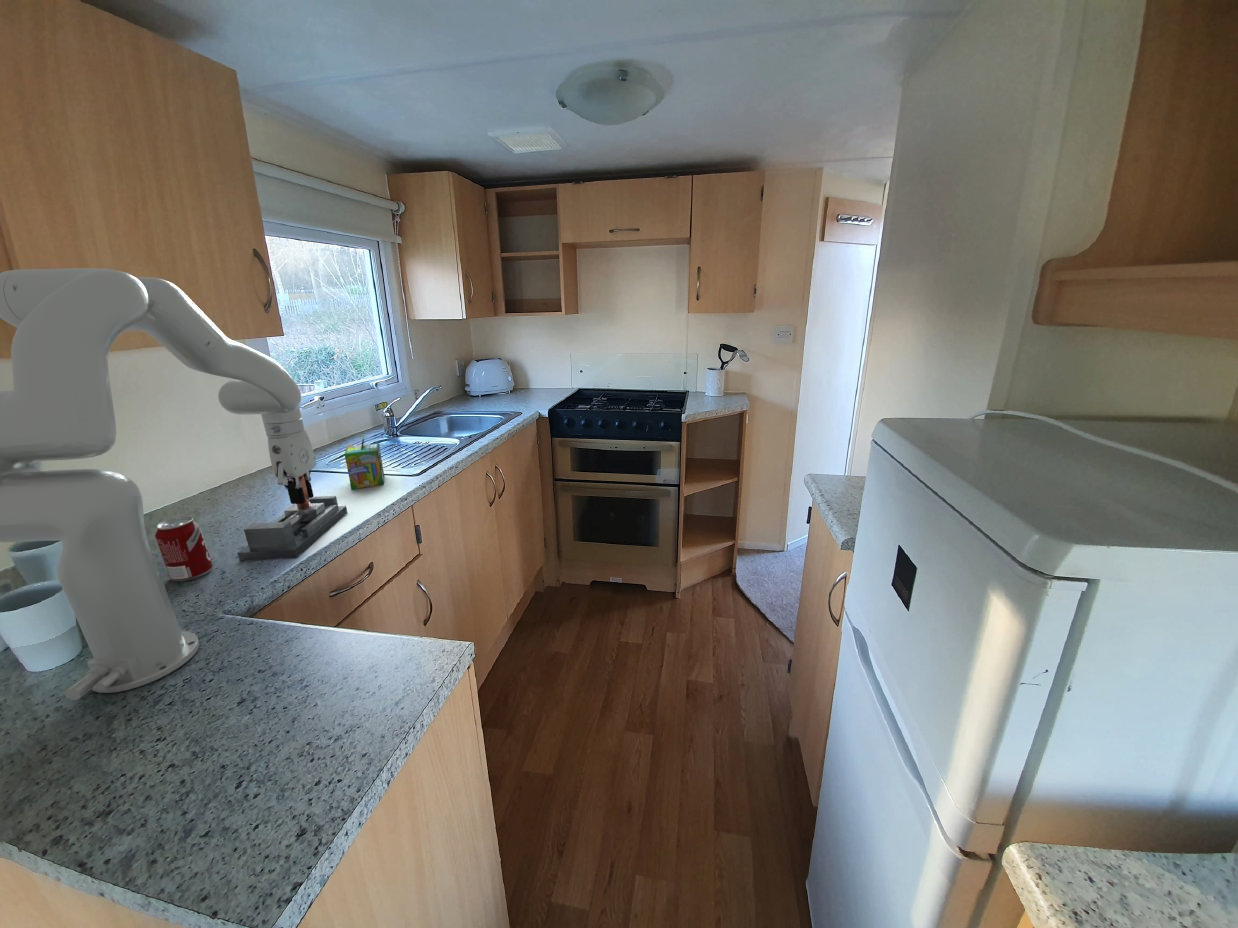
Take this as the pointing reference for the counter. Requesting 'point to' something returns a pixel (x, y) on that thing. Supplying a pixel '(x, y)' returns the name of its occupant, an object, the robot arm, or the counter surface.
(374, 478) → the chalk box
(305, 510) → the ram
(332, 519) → the base
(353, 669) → the counter surface
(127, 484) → the robot arm
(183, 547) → the soda can
